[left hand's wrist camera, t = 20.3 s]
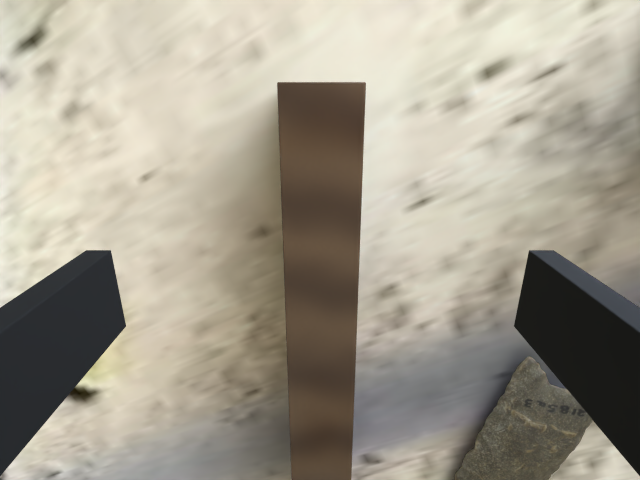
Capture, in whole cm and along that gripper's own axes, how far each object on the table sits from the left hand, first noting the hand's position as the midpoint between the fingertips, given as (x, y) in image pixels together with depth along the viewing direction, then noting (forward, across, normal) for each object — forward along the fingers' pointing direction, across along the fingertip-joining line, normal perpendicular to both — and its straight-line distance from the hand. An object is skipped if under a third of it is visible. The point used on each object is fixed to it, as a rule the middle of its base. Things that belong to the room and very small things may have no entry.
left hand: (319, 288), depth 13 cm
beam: (+24, 0, -29) cm, 38 cm away
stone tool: (+24, +22, -33) cm, 46 cm away
